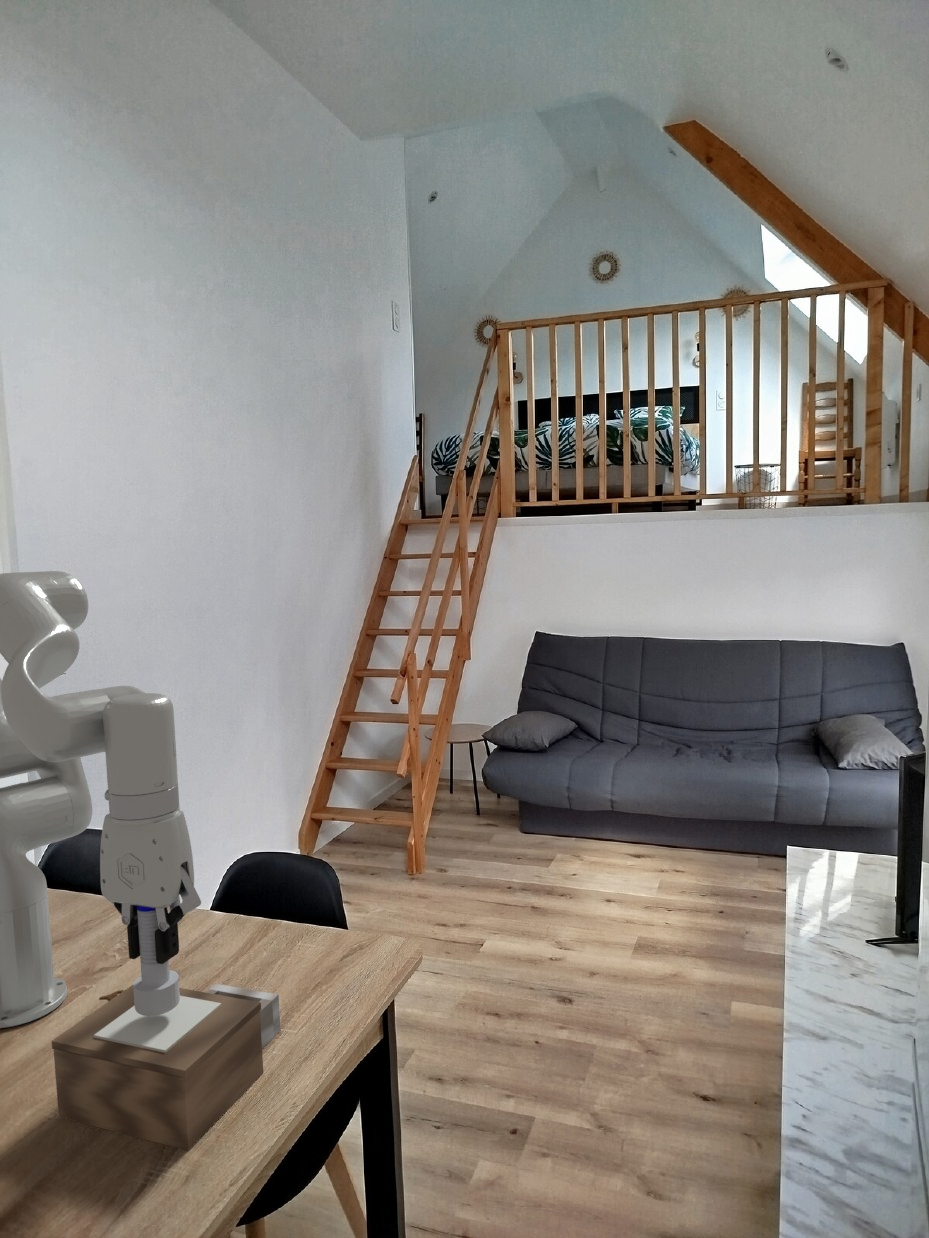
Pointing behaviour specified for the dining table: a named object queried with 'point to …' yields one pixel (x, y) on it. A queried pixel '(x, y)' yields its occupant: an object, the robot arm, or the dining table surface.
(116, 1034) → the lid mat
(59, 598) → the robot arm
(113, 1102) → the wooden box
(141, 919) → the bolt
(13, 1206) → the dining table surface
